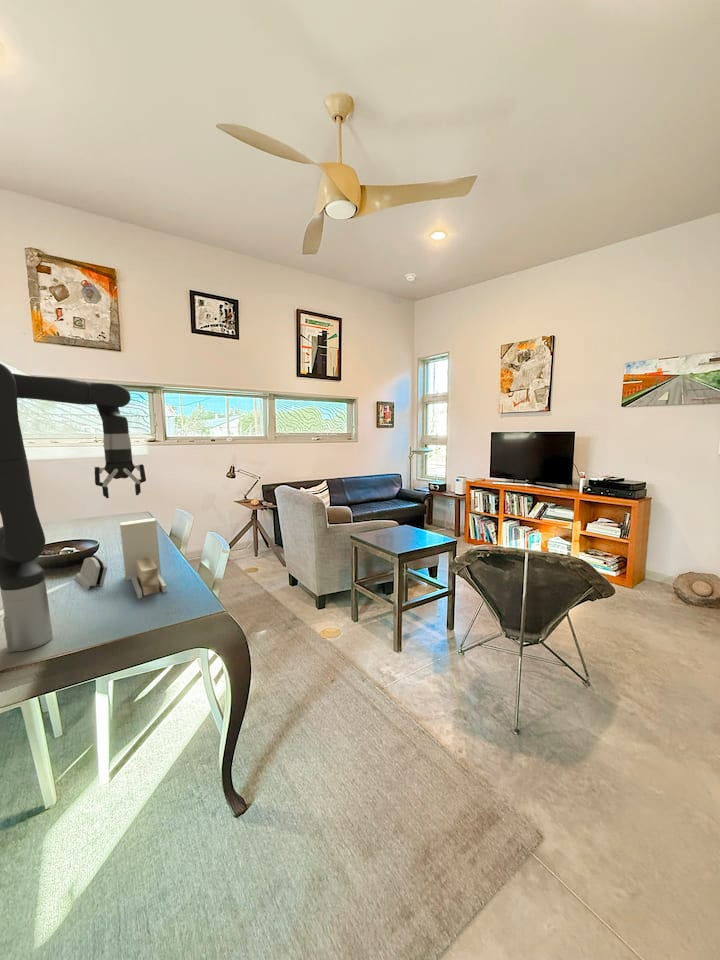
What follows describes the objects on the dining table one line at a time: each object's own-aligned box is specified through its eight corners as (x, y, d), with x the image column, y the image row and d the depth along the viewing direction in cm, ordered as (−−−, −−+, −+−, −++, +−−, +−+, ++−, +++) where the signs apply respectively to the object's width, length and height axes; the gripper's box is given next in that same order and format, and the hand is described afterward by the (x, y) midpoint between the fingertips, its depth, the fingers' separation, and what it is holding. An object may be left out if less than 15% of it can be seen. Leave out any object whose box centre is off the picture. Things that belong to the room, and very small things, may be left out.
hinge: (74, 578, 152) (81, 553, 153) (88, 579, 155) (95, 554, 157) (87, 590, 141) (95, 562, 142) (102, 590, 145) (109, 563, 146)
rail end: (143, 595, 136) (141, 571, 135) (138, 582, 148) (136, 559, 147) (159, 591, 139) (157, 568, 138) (152, 579, 151) (150, 557, 149)
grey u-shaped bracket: (133, 599, 133) (127, 538, 130) (125, 576, 153) (119, 522, 150) (171, 590, 140) (166, 531, 137) (158, 569, 161) (154, 518, 157)
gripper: (91, 449, 119) (97, 500, 121) (144, 447, 127) (148, 495, 130) (90, 448, 125) (96, 497, 127) (140, 446, 133) (145, 492, 135)
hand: (122, 496), depth 128 cm, fingers open, 8 cm apart
